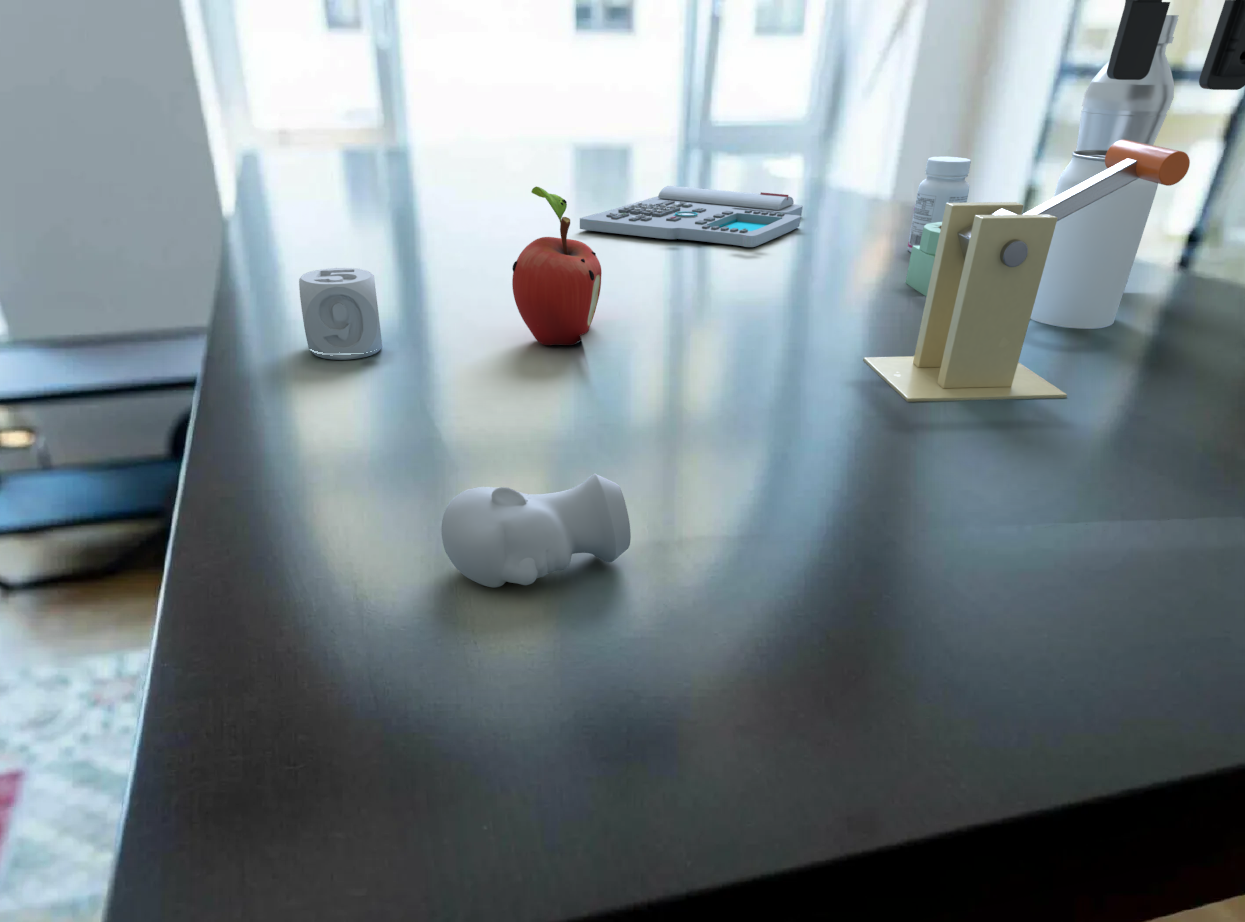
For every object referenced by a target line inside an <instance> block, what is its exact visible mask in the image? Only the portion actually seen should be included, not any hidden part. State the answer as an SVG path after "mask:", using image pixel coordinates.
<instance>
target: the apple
mask: <svg viewBox="0 0 1245 922" xmlns="http://www.w3.org/2000/svg"><path fill="white" fill-rule="evenodd" d="M530 192H531V194H533V195H535V196H538V197H539V198H543V199H545V200H546V201H547V203H548V204H549V206H550V207H551V209H552V210H553V212H554V213H555V215H556V217H557V218H558V221H559V224H560V226H559V233H560V237H555V236H542V237H539V238H536V239H534V240H533V241H531V242H530V243H529V244H527V245H526V246H525V247H524V248H523V249H522V251H521V252H520V254H519V255H518V257H517V259H516V260H515V262H514V263H513V264H512V278H511V279H512V281H511V282H512V283H511V284H512V287H511V288H512V293H513V298H514V301H515V302H514V303H515V305H516V308H517V311H518V313H519V315H520V317H521V319H522V321H523V323H524V324H525V325H526V327H527V328H528V330H529V332H530V333H531V334H532V336H533V338H534V340H536V341H537V342H538V343H539V344H540V345H543V346H574V345H576V344H578V343H580V342H581V341H582V335H584V334H587V333H588V332H589V330H590V328H591V326H592V325H591V324H592V323H593V319H594V316H595V313H596V309H597V305H598V302H599V299H600V294H601V287H602V266H601V262H600V261H599V258H598V256H597V255H596V252H594V251H593V249H592V248H591V247H590V246H589V245H587V244H586V243H584V242H582V241H580V240H576V239H571V238H568V232H569V229H570V225H571V218H570V217H567V216H564V214H565V213H566V209H567V207H568V204H567V203H568V202H567V200H566V199H564V198H563V197H562V196H560V195H558V194H556V193H549V192H548V191H547V190H545V189H544V188H542V187H540V186H536V185H535V186H534V187H533V188H532V189H531V191H530Z"/></svg>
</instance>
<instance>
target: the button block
mask: <svg viewBox="0 0 1245 922" xmlns="http://www.w3.org/2000/svg"><path fill="white" fill-rule="evenodd" d="M941 225H942V222H935V223H929V224H926V225H925V226H924V228H923V233H922V238H921V243H920V246H912V251H911V252H910V257H909V262H908V267H907V273H906V277H905V278H906V279H905V284H906V285H908V286H909V287H911V288H912V289H913V290H915V291H916V292H918V293H920V294H921V295H923V296H924V297H927V293H928V288H929V283H930V278H931V273H932V269H933V264H934V259H935V254H936V249H937V245H938V240H939V235H940V230H941Z"/></svg>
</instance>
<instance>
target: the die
mask: <svg viewBox="0 0 1245 922" xmlns="http://www.w3.org/2000/svg"><path fill="white" fill-rule="evenodd" d="M298 288H299V289H298V290H299V300H300V307H301V315H302V321H303V328H304V332H305V338H306V342H307V343H306V344H307V347H308V350H309V349H312V350H314V351H318V352H323V353H339V352H340V353H364V354H351V355H333V356H330V355H322V354H317V353H314V352H311V353H312V354H313V355H314V356H316V357H318V358H321V359H324V360H325V359H326V360H332V361H333V360H334V361H338V360H339V361H347V360H349V361H350V360H358V359H363V358H368V357H370V356H373V355H376V354H377V353H379V352H380V351H381V349H382V348H383V339H382V330H381V323H380V313H379V306H378V297H377V288H376V281H375V275H374V274H373V273H372V272H371V271H369V270H366V269H363V268H355V267H330V268H329V267H328V268H321V269H315V270H311V271H308V272H306V273H303V274H302V275H301V276H300V277H299V278H298ZM376 349H377V350H376ZM374 350H375V351H374ZM370 351H372V352H370ZM366 352H368V353H366Z"/></svg>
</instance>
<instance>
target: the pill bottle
mask: <svg viewBox="0 0 1245 922" xmlns="http://www.w3.org/2000/svg"><path fill="white" fill-rule="evenodd" d="M971 162H972V160H971V159H969V158H966V157H960V156H959V157H957V156H932V157H931V156H930V157H928V159H927V161H926V166H925V171H924V172H925V173H924V175H925V176H926V178H925V179H923V180H922V181H921V182H920V183H919V185H918V187H917V188H918V189H917V193H916V199H915V204H914V210H913V215H912V221H911V226H910V231H909V237H908V243H907V251H908V252H909V253H911V251H912V246H920V243H921V238H922V233H923V228H924V226H925V225H926V224H929V223H935V222H942V221H943V216H944V211H945V206H946V203H968V198H969V192H970V185H969V184H970V183H969V181H966V178H968V177H969V175H968V174H969V173H970V170H971V169H970V168H971Z"/></svg>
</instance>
